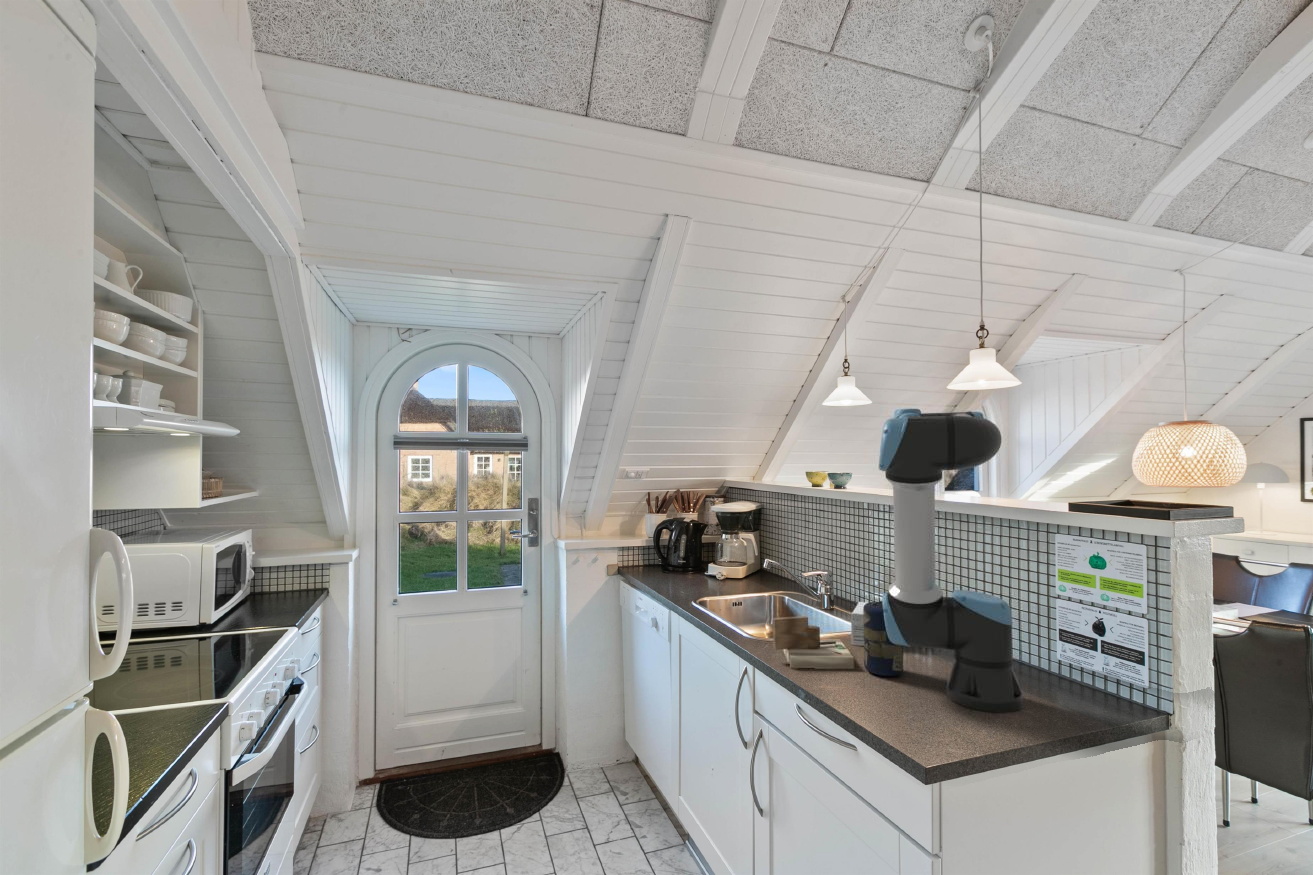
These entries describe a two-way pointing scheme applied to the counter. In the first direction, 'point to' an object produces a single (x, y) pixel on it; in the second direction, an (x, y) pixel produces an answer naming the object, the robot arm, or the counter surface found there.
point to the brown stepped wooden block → (796, 633)
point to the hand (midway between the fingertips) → (910, 542)
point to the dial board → (821, 656)
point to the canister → (879, 643)
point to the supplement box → (857, 625)
